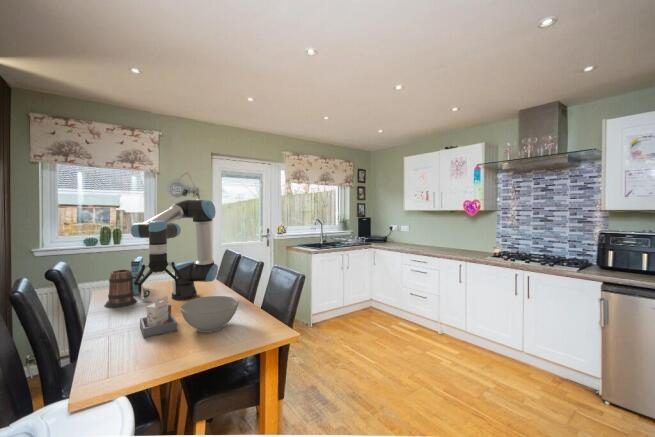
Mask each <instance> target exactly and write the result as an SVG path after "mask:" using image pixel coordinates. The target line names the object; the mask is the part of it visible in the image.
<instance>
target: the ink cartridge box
mask: <svg viewBox="0 0 655 437" xmlns="http://www.w3.org/2000/svg"><path fill="white" fill-rule="evenodd" d="M168 299H169V298H168V296H167V295H166V296H163V297H160V298H158V299H156V300H155V301H154V303H152V304H150V305H148V306H146V317H147V327H152V326H157V325H162V324H167V323H168V304H169V300H168Z"/></svg>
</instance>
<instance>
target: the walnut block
mask: <svg viewBox="0 0 655 437" xmlns="http://www.w3.org/2000/svg"><path fill="white" fill-rule="evenodd" d="M168 313H171V314H172V304H170V303H168Z"/></svg>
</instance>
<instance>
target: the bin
mask: <svg viewBox="0 0 655 437" xmlns="http://www.w3.org/2000/svg"><path fill="white" fill-rule="evenodd" d="M139 328H140V332H141V334H142V337H143V339H147V338H148V339H149V338H152V337H157V336H162V335H166V334H167V335H168V334H171V332H172V333H175V331H176V332H177V331H178V321H177V320H176V318H175V316H173V314H172V312H171V313H168V323H167V324H162V325H157V326H152V327H147V316H146V317H140V318H139Z"/></svg>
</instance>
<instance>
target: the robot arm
mask: <svg viewBox="0 0 655 437" xmlns="http://www.w3.org/2000/svg"><path fill="white" fill-rule="evenodd" d="M215 217H216V206H215V204H214V203H213V202H212V201H211V200H208V199H198V200H197V199H186V200H181V201H178V202H175V203H174V204H172V205H170V206H168V208H167V210H165V211H163V212H161V213H159V214H157V215H155V216H154V217H152V218H150V219H148V220H147V221H146V220H145V221H144V222H137V223H133V224H132V225H131V227H130V233H131V236H132V237H133V238H137V239H138V238H139V239H148V242H149V243H148V251H149V252H148V253H149V254H148V260H149V261H148V263H147V264H146V263H143V264H142V265H141V270H140V271H139V273H138V275H137V277H136V279H135V281H134V282H133V283H134V285H138V292H141V295H140V299H141V300H145V299H144V298H145V297H143V295H144V283H145V281H147V279H149V277H150V276H151V275H152V274H153V273H155V274H156V273H163V272H165V273H167V274H168V275H169V276H170V277H171V278H172V279H173V280H172V293H171V299H172V300H175V301H185V300H192V299H195V298H196V297H197V296H198V291H197V289H196V286H195V282H201V283H203V282H205V283H210V282H213V281H214V280H215V279H216V277H217V276H218V271H219V267H218V264H217V263H215V260H214V259H213V258H212V241H211V239H212V238H211V237H212V236H211V223H212V222H213V219H214V218H215ZM181 219H192V222H193V223H194V224H195V238H196V240H195V242H196V256H197V259H196V261H193V260H188V261H183V262H179V263H176V264H175V261H173V260H171V261H168V253H167V252H168V239H174V238H177V237H178V236H179V235H180V234H181V226H180V225H179V224H177V223H176V222H175V221H177V220H181ZM173 222H175V223H173ZM168 266H169V267H171V268H172V269H173V271H174V274H173V273H172V272H171V271H170V270H169V269H168ZM147 268H149V270H148V271H147V272H146V274H144V272H145V270H146V269H147ZM142 274H144V277H143V278H142V279H141V280H140V281H139V279H140V277H141V276H142ZM138 281H139V282H138Z"/></svg>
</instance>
